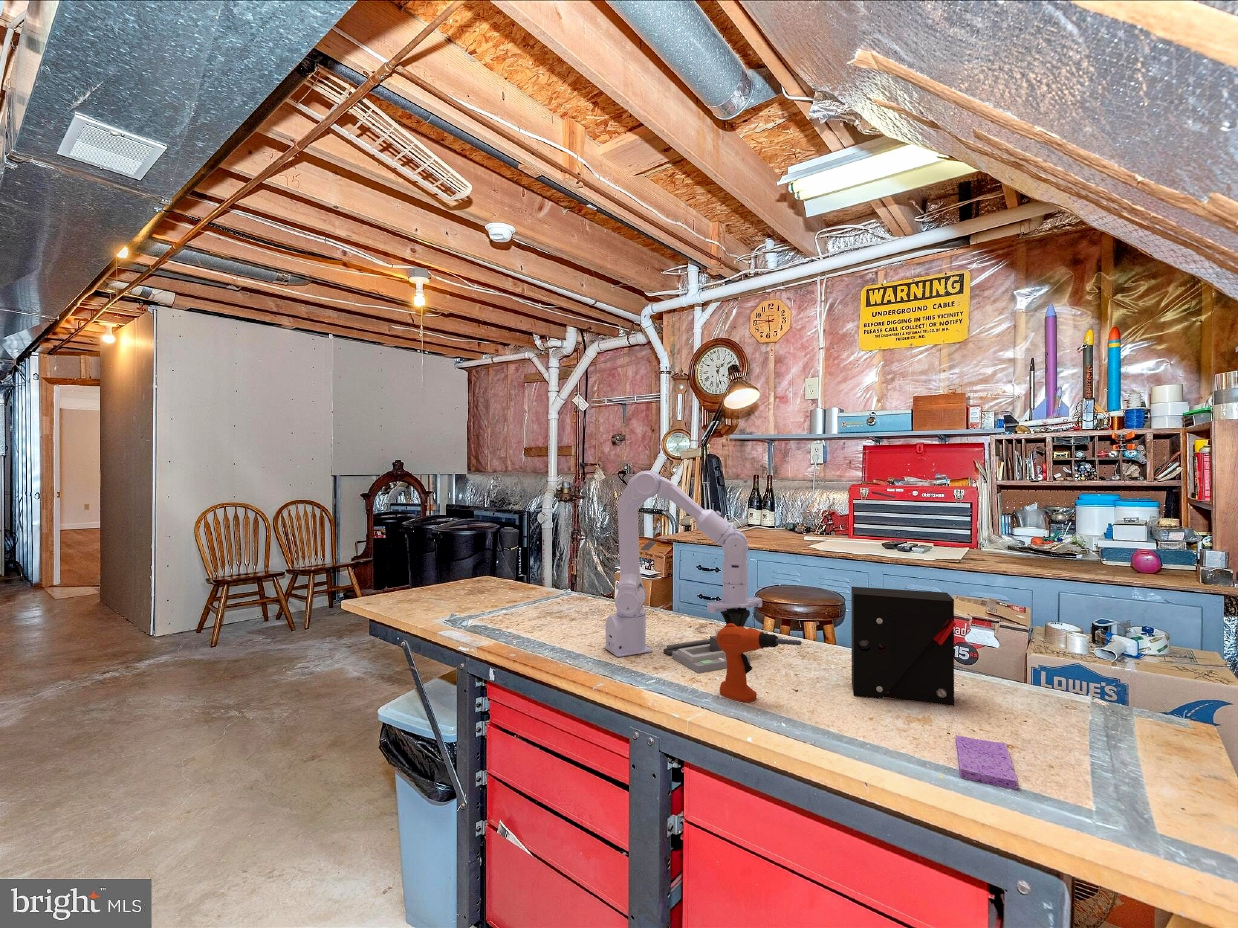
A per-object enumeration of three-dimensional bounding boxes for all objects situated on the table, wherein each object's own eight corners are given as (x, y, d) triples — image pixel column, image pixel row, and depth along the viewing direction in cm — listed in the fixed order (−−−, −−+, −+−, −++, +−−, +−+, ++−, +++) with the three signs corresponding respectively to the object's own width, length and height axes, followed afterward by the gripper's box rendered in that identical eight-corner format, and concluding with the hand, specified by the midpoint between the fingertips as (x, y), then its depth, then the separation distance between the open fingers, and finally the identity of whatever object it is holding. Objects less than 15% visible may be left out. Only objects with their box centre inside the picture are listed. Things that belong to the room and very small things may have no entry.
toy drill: (804, 712, 102) (794, 630, 103) (715, 698, 113) (707, 624, 114) (814, 704, 105) (804, 624, 106) (727, 691, 117) (719, 620, 118)
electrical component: (945, 689, 116) (944, 590, 116) (956, 709, 106) (956, 601, 106) (851, 679, 122) (850, 584, 122) (853, 697, 112) (853, 594, 112)
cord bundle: (669, 656, 136) (669, 646, 136) (663, 652, 138) (663, 643, 138) (718, 648, 142) (718, 639, 142) (712, 645, 144) (712, 636, 144)
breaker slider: (718, 655, 132) (718, 633, 132) (710, 651, 135) (709, 630, 135) (732, 652, 134) (732, 631, 134) (724, 648, 137) (724, 628, 137)
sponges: (959, 781, 83) (959, 767, 83) (955, 743, 94) (955, 732, 94) (1018, 793, 80) (1018, 780, 80) (1006, 753, 91) (1006, 741, 91)
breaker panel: (698, 673, 125) (698, 660, 125) (672, 657, 135) (672, 646, 135) (750, 663, 131) (750, 651, 131) (721, 649, 141) (721, 638, 141)
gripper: (719, 588, 129) (719, 648, 129) (770, 582, 136) (770, 640, 135) (702, 582, 136) (702, 640, 136) (751, 577, 142) (751, 632, 142)
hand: (735, 639), depth 136 cm, fingers closed
